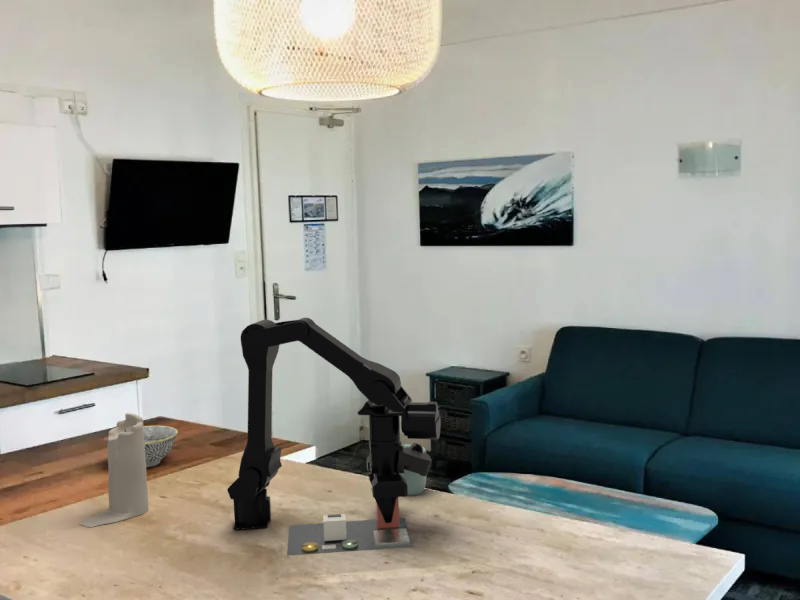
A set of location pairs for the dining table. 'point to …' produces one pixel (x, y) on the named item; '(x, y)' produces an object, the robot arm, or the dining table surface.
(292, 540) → the panel
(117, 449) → the grey tall curved piece
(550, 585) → the dining table surface
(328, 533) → the block
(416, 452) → the robot arm
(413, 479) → the cup
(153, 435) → the bowl
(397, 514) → the cap
